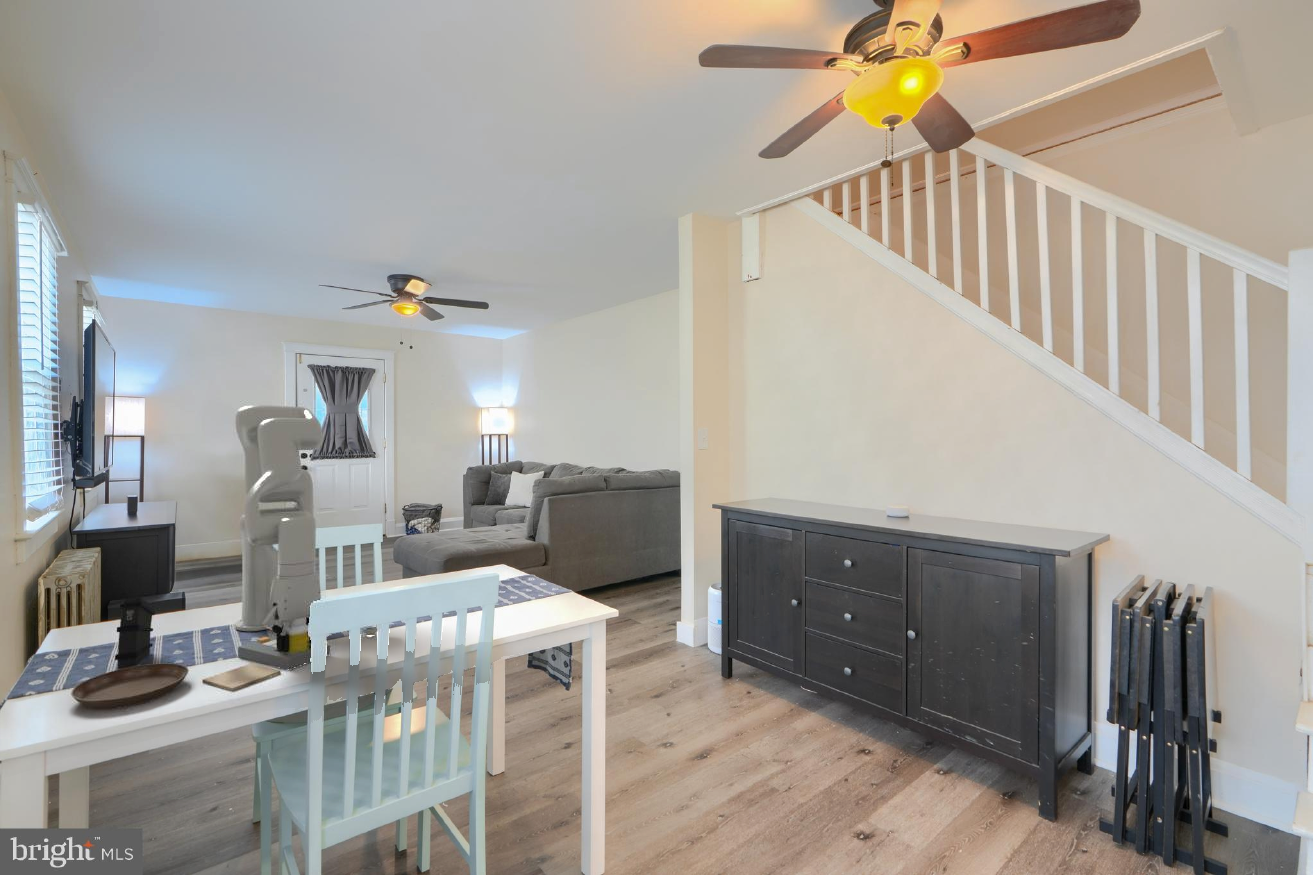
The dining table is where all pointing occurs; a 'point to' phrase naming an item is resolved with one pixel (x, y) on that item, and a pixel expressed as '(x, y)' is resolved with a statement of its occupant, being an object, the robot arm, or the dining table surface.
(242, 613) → the robot arm
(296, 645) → the supplement bottle
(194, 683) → the dining table surface
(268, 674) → the cork mat
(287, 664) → the grey panel with buttons
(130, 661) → the magazine
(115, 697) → the plant saucer
